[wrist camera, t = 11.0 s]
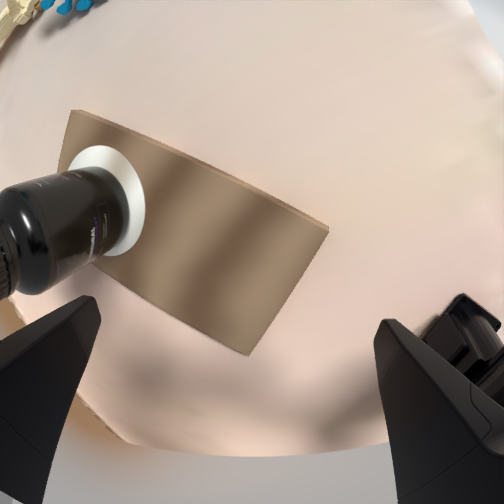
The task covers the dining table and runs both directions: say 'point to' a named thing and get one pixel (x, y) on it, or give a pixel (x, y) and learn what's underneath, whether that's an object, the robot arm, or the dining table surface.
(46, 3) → the blue lumpy piece
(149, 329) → the dining table surface
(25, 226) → the supplement bottle
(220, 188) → the walnut board
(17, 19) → the cat figure
